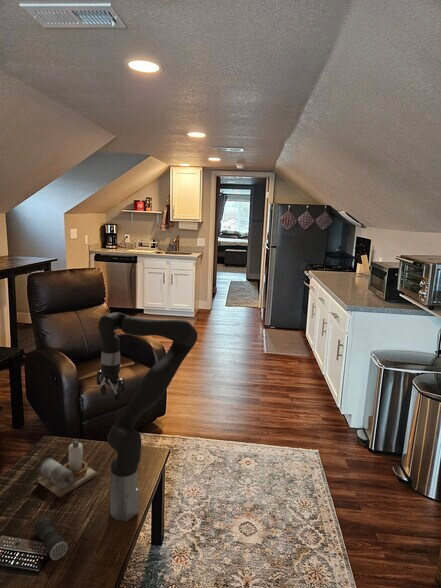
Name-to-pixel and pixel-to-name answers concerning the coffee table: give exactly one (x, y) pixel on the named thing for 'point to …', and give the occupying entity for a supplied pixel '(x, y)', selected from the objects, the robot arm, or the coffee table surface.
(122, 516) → the robot arm
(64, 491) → the motor mount
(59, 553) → the flashlight
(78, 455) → the white capped bottle
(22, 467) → the coffee table surface
